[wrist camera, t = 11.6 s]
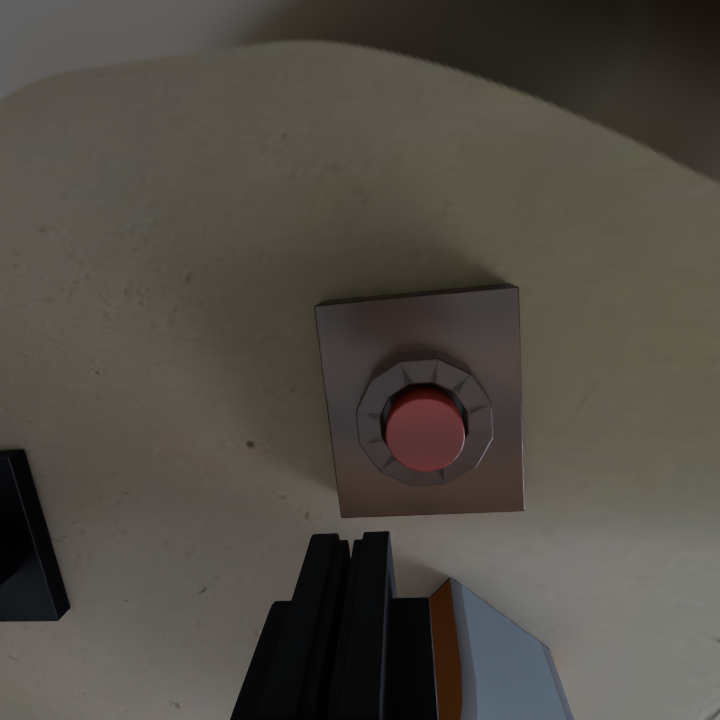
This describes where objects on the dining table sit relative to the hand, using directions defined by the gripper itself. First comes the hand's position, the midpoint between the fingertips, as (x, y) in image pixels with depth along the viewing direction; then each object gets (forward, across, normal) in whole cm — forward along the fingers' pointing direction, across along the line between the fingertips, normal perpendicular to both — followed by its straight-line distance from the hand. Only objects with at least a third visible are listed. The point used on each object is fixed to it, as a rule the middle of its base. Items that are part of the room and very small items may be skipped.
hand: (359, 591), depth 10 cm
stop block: (+17, -2, +2) cm, 17 cm away
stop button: (+13, -2, +1) cm, 13 cm away
